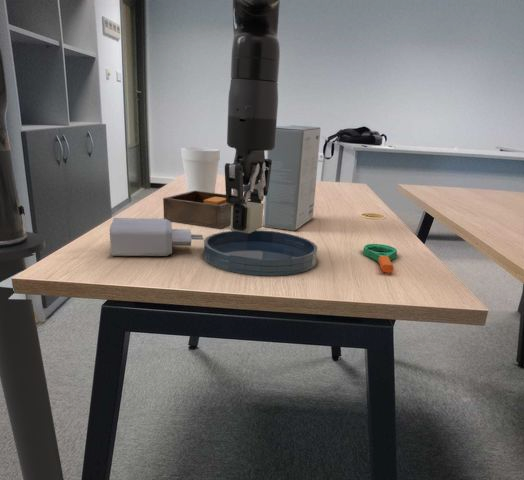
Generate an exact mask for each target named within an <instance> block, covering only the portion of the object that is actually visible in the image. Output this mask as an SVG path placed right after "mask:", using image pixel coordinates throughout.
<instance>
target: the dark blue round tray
mask: <svg viewBox="0 0 524 480" xmlns="http://www.w3.org/2000/svg"><path fill="white" fill-rule="evenodd" d="M317 255H318V245H317V244H315V242H313V241H311V240H309V239H307V238H304V237H301V236H299V235H295V234H294V235H293V234H291V233H286V232H279V231H273V230H272V231H271V230H261V229H258V230H256V231H254V232H252V233H250V234H249V233H243V232H237V231H231V230H227V231H221V232H217V233H213V234H210V235H209V236H207V237H206V238H205V239H203V258H204V260H205V261H206V262H207V263H208V264H210V265H211V266H213V267H215V268H218V269H221V270H223V271H228V272H232V273H235V274H236V273H237V274H243V275H250V276H264V277H269V276H271V277H273V276H275V277H277V276H289V275H290V276H291V275H296V274H300V273H305V272H308V271H309V270H311V269H313V268H314V267H315V265H316V264H317V257H318V256H317Z"/></svg>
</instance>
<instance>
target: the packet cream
mask: <svg viewBox="0 0 524 480" xmlns="http://www.w3.org/2000/svg"><path fill="white" fill-rule="evenodd" d="M263 218H264V203H261V204H260V203H254V202H248V205H247V224H246V229H245V230H243V231H240V230H235V229H233V227H232V224H233V206H231V224H230V229H229V231H237V232H243V233H249V234H250V233H252V232H254V231H256V230H261V229H262V227H263Z"/></svg>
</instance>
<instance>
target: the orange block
mask: <svg viewBox="0 0 524 480" xmlns="http://www.w3.org/2000/svg"><path fill="white" fill-rule="evenodd" d="M204 203H206V204H213V205H221V204H224V203H227V202H226V198H222V197H212V198H209V199H205V200H204Z"/></svg>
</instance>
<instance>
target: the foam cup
mask: <svg viewBox="0 0 524 480" xmlns="http://www.w3.org/2000/svg"><path fill="white" fill-rule="evenodd" d="M180 154H181V156H180V157H181V160H182V166H183V173H184V180H185V188H186V192H190V191H202V192H210V193H216V185H217V177H218V176H217V175H218V169H219V162H220V160H221V159H220V157H221V150H220V149H218V148H211V147H199V146H198V147H197V146H184V147H181V149H180Z"/></svg>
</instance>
